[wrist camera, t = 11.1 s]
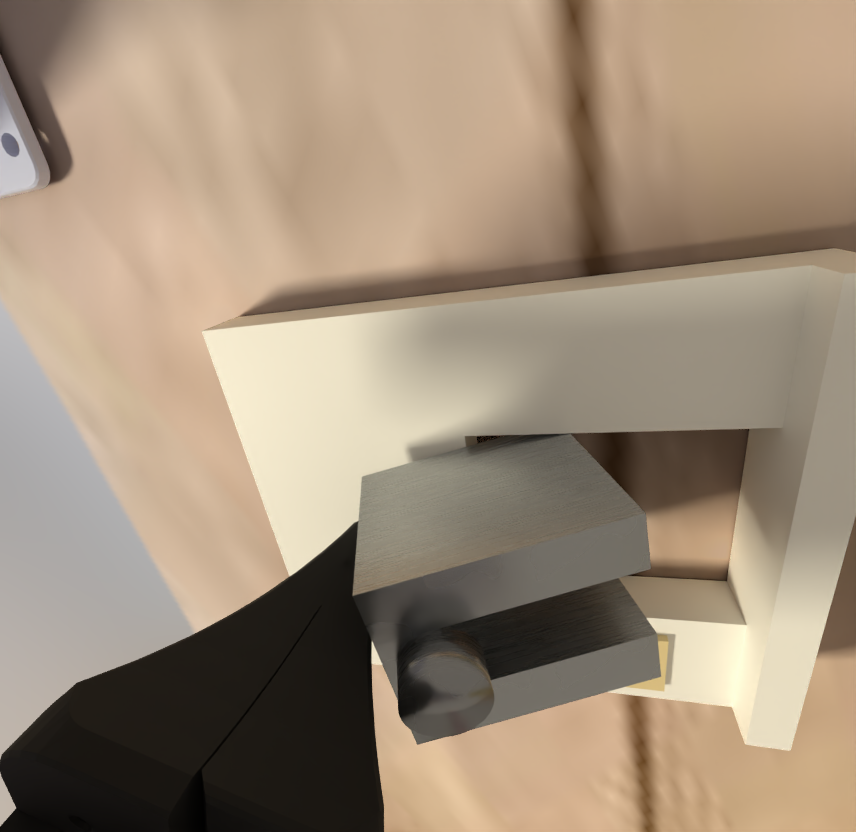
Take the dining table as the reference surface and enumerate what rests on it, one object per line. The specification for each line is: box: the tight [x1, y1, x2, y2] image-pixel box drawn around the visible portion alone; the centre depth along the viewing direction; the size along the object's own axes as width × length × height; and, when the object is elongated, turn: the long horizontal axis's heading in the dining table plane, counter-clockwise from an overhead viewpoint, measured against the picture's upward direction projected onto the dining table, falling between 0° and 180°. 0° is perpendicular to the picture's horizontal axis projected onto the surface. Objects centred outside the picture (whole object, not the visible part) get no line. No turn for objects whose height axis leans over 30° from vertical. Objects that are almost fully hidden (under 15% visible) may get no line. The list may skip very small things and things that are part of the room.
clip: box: [352, 433, 661, 745], centre depth 10 cm, size 4×5×5 cm
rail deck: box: [202, 248, 856, 751], centre depth 12 cm, size 12×14×2 cm
